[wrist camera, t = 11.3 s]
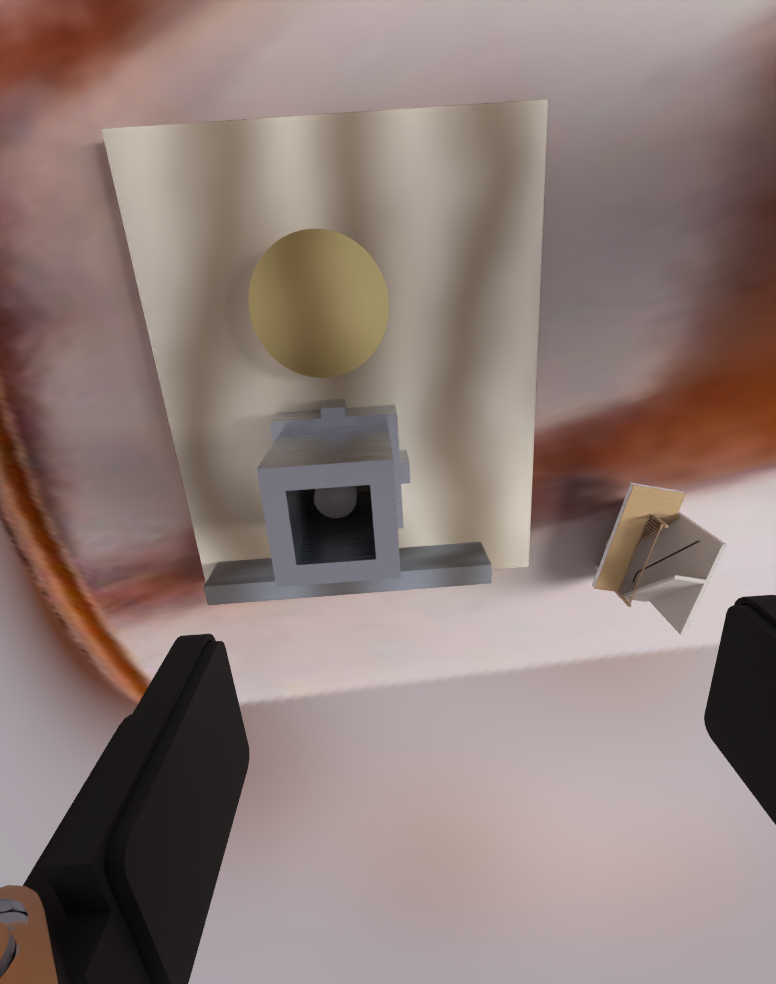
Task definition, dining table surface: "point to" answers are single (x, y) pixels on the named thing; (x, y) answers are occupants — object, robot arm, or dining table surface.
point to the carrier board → (437, 297)
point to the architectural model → (658, 555)
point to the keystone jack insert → (326, 464)
